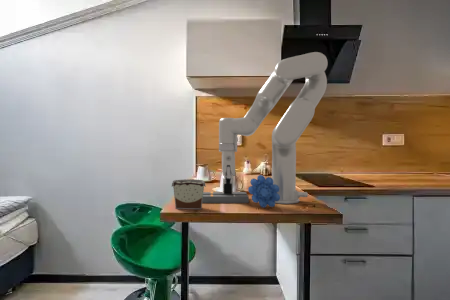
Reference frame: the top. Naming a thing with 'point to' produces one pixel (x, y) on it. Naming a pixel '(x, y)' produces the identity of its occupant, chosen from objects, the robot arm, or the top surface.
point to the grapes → (264, 191)
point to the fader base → (225, 197)
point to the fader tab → (223, 186)
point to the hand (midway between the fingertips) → (227, 192)
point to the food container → (188, 193)
